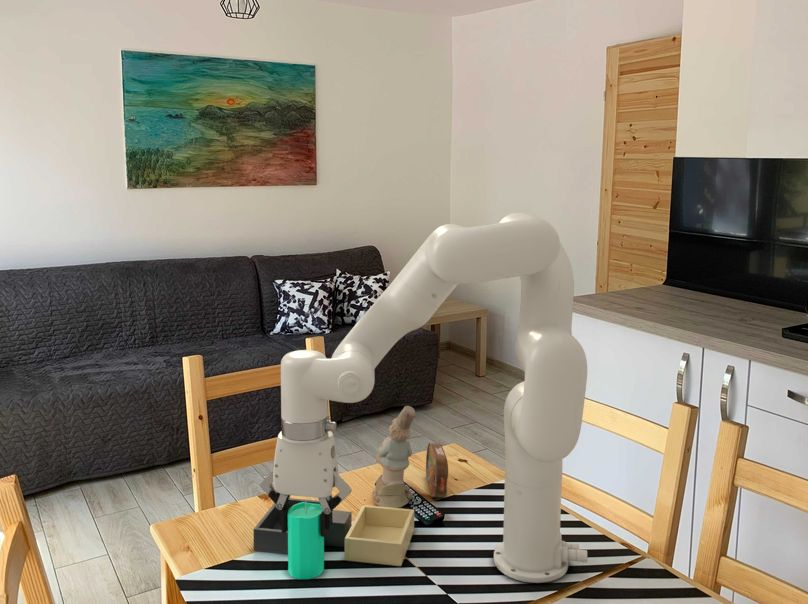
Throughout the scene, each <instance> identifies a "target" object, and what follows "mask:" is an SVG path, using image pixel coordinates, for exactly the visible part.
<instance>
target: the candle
mask: <svg viewBox="0 0 808 604" xmlns="http://www.w3.org/2000/svg"><path fill="white" fill-rule="evenodd" d="M322 511H323V509H322V507H321V505H320V504H312V503H307V502H306V501H305V502H301V503H298V504H295V505H293V506H292V507H291V508H289V510H288V554H287V564H288V565H287V571H288V574H289V575H290V576H291V578H295V579H298V580H312V579H314V578H317V577H319V576H320V575H321V574H323V573H324V570H325V545H324V537H321V536H320V515H321V513H322Z"/></svg>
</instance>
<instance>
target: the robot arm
mask: <svg viewBox="0 0 808 604" xmlns="http://www.w3.org/2000/svg"><path fill="white" fill-rule="evenodd" d="M517 277H519V278H520V287H521V288H520V308H519V315H518V324H517V332H516V340H515V343H514V344H515V345H514V354H515V358H516V361H517V363H518V365H519V367H520V368H521V370H522V371H523V372H524V381H521V382H519V383H517V384H515V386H513V388H512V389H510V391H509V392H508V394H507V396H506V399H505V402H504V406H503V428H504V445H505V446H504V448H505V453H504V454H505V455H504V457H505V458H504V459H505V460H504V491H503V492H504V493H503V494H504V495H503V501H504V502H503V527H502V529H503V533H502V534H503V535H502V542H501V543H500V544H498V545H497V546H496V547H495V549H494V551H493V563H494V565H495V567H496V568H497V570H498V571H500V572H501V573H502V574H504V575H505V576H507V577H508V578H511V579H514V580H516V581H520V582H524V583H528V584H529V583H530V584H532V583H533V584H545V583H549V582H553V581H557V580H559V579H561V578H562V577H563V576H564V575H565V574H566V573H567V571H568V569H569V561H573V562H577V563H588V550H587V549H580V543H576V542H566V541H565V540H563V539H562V532H561V517H562V490H563V489H562V487H563V466H564V465H563V459H565V458H567V457H568V456H569V455H571V453H572V452H573V451H574V449H575V447H576V446H577V444H578V442H579V439H580V435H581V430H582V422H583V416H584V408H585V400H586V392H587V391H586V390H587V383H588V361H587V356H586V353H585V350H584V348H583V346H582V344H581V343H580V341H579V340H577V338H576V337H575V336H573V334H572V333H573V332H572V328H573V327H572V326H573V325H572V323H573V315H574V312H573V311H574V296H575V294H574V293H575V292H574V291H575V280H574V271H573V268H572V264H571V261H570V259H569V256H568V253H567V251H566V250H565V248H564V246H563V244H562V243H561V239H560V236H559V234H558V232H557V229H556V228H555V227H554V225H553V224H551V223H550V222H549V221H547V220H545V219H543V218H541V217H539V216H536V215H533V214H531V213H528V212H522V211H521V212H512V213H509V214H507V215H506V216H504V217H502V219H501V220H500V221H499V222H497V223H492V224H485V225H478V226H477V225H476V226H463V225H459V224H457V223H456V224H455V223H446V224H442V225H440V226H438V227H437V228H436V229H434V230H433V231H432V232H431V233H430V234H429V235H428V237H427V238H426V239H425V240H424V242H423V243H422V244H421V245H420V247H419V248H418V249H417V250H416V252H415V253H414V254H413V255H412V257H411V258H410V259H409V261H407V263H406V264H405V266H403V268H402V269H401V270H400V272H399V273H398V274H397V275H396V276H395V278H394V279H393V280H392V282H390V284H389V285H388V286H387V287H386V289H384V291H382V293H381V294H380V295H379V296H378V297H377V299H376V300H375V301H374V303H372V305H371V306H370V307H369V309H367V310H366V311H365V313H364V314H363V315H362V316H361V317H360V318H359V320H358V321H357V322H356V323H355V324H354V326H353V327H352V328H351V329H350V331H349V332H348V333H347V334H346V335H345V337H344V338H343V339H342V340H341V341H340V343H339V344H338V345H337V347H336V348H335V350H334V352H333V353H332V355H331V358H327V357H326V355H325V354H324V353H322V352H321V351H318V350H314V349H313V350H312V349H297V350H294V351H290V352H287V353H286V354H284V356H283V357H282V358H281V360H280V402H281V403H280V416H281V417H280V419H281V420H280V421H281V423H280V424H281V430H280V432H279V433H278V435H277V439H276V444H275V451H274V456H273V468H272V469H273V470H272V472H270V473H269V474H268V475H267V476H266V477H265V478H264V479H263V480H262V481H261V482H260V484H259V487H260V488H261V490H263V491H264V492H265V493H266V494H267V495H268V498H269V499H270V500H271V501H272V502H273V504H274V503H275V504H276V508H277V509H279V525H281V531H282V533H285V532H287V531H288V510H289V508H291V507H292V504H291V502H289V498H291V496H296V497H305V498H317V499H318V501H319V502H320V504H321V507H322V509H323V511H322V513H321V515H320V536H321V537H325V536H326V534H327V533H328V531H329V530H331V528H332V525H333V510H335V509H336V508H337V507H338V506H339V505H340V504H341V502H343V501H344V500H346V499H347V498H348V497H349V496H350V495H351V493H352V490H353V489H352V488H351V486H350V485H349V484H348V483H347V482H346V481H345V480H344V479H343V478H342V476H341V475H339V462H338V452H337V446H336V440H335V435H334V433H333V432H332V431H336V430H337V422H336V421H332V420H331V419H330V415H329V401H333V402H338V403H344V404H345V403H347V404H353V403H359V402H361V401H364V400H366V399H367V398H368V397H369V396H370V395H371V393H372V392H373V389H374V386H375V380H376V379H375V378H376V377H375V375H376V374H375V369H376V368H377V366H378V365H379V364H380V363H381V361H382V360H383V359H384V357H385V356H386V355H387V354H388V353H389V352H390V351H391V349H392V348H393V347H394V346H395V345H396V344H397V342H398V341H399V340H401V339H402V338H403V337H404V336H406V335H407V334H409V333H410V332H413V331H415V330H418V329H420V328H421V327H423V326H424V325H426V324H427V323H428V322H429V321H430V320H431V318H432V317H433V316H434V314H436V312H437V310H438V309H439V308H440V306H441V305H442V304H443V303H444V302H445V300H446V299H447V298H448V297H449V295H450V294H452V292H453V290H454V289H455V288H456V287H457V286H458V285H468V284H469V285H470V284H477V283H485V282H492V281H497V280H498V281H499V280H503V279H511V278H517ZM333 488H336V489H337V490H338V491H339V492H338V493H336V494H335V496H333V494H332V492H333Z"/></svg>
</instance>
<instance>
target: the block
mask: <svg viewBox="0 0 808 604" xmlns="http://www.w3.org/2000/svg"><path fill="white" fill-rule="evenodd" d="M352 517H353V515H352V511H349V510H348V511H345V510H337V509H333V525H332V528H331V530H329V531H328V533H327V534H326V536H325V537H324V547H336V548H344V549H345V537H346V535H347V533H348V531H349V530H350V528H351V526H352V524H353V522H352Z"/></svg>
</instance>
